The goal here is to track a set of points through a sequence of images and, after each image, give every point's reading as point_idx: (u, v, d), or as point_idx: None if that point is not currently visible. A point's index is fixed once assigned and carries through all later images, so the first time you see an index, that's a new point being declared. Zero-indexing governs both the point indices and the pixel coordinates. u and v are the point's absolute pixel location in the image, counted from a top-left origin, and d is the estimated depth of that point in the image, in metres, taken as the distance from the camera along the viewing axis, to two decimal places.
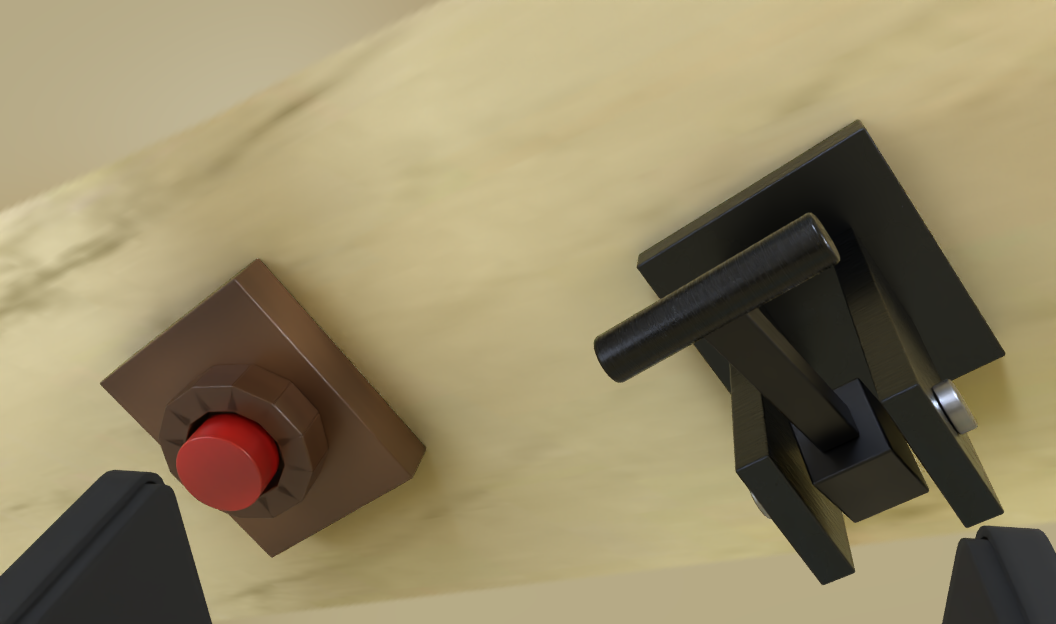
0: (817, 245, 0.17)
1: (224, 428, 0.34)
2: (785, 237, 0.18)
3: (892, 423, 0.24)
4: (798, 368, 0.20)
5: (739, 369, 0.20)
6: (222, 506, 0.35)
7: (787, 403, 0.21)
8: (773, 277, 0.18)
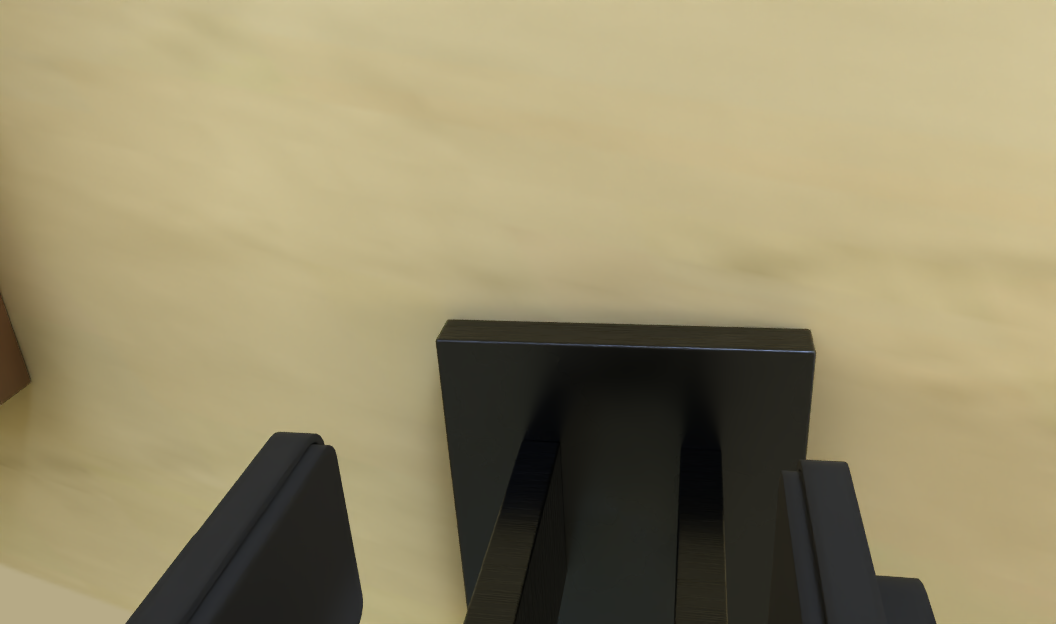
0: None
1: None
2: None
3: None
4: None
5: None
6: None
7: None
8: None
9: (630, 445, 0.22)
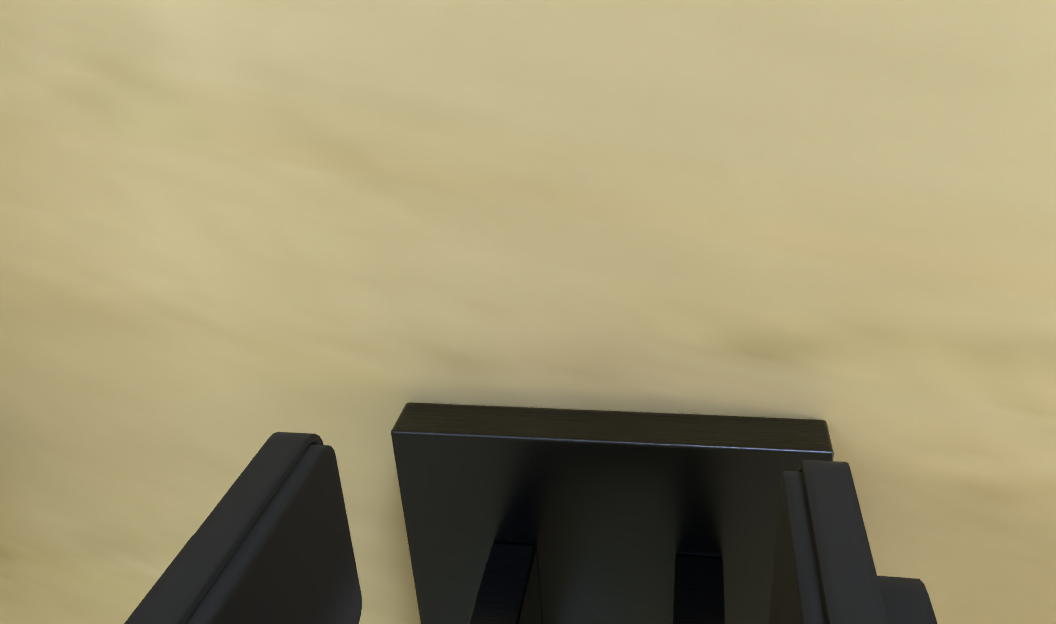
0: None
1: None
2: None
3: None
4: None
5: None
6: None
7: None
8: None
9: (617, 550, 0.19)
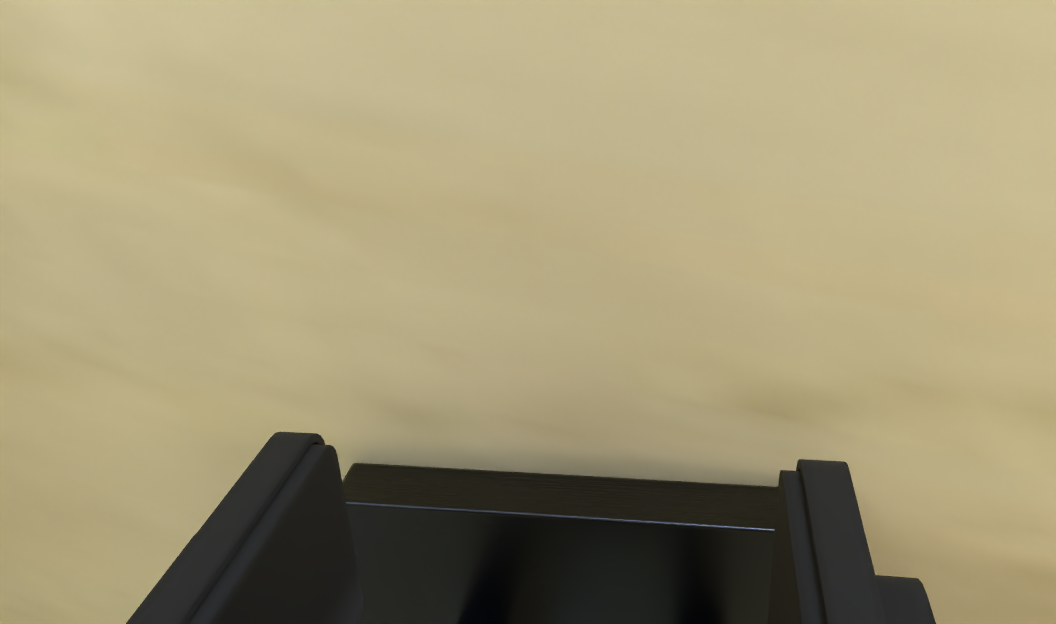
0: None
1: None
2: None
3: None
4: None
5: None
6: None
7: None
8: None
9: None
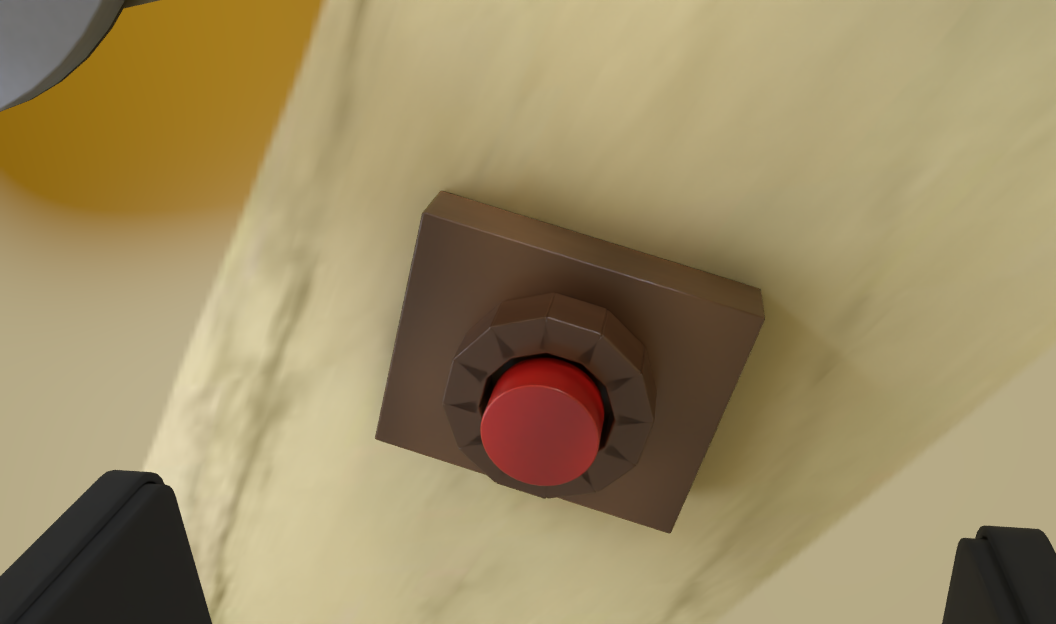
0: None
1: (512, 378, 0.26)
2: None
3: None
4: None
5: None
6: (567, 475, 0.27)
7: None
8: None
9: None
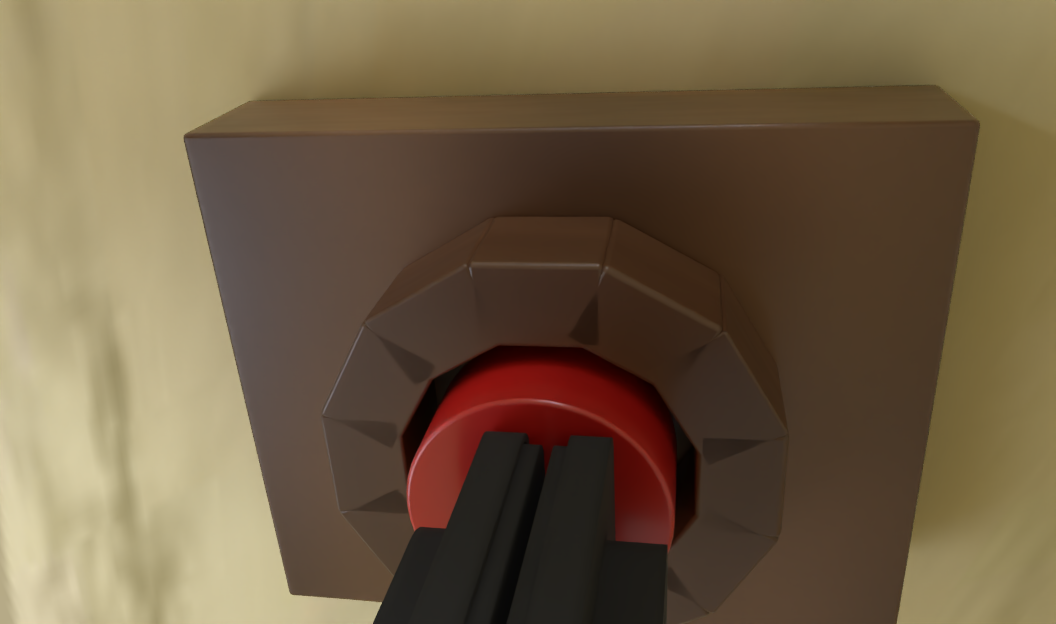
0: None
1: (446, 404, 0.12)
2: None
3: None
4: None
5: None
6: None
7: None
8: None
9: None
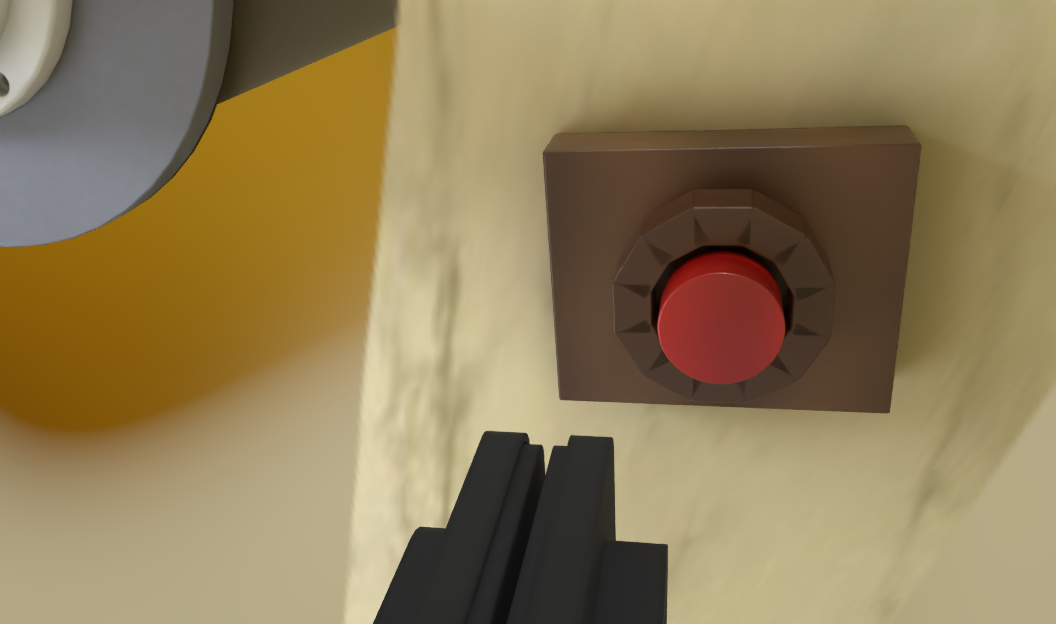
0: None
1: (676, 280, 0.26)
2: None
3: None
4: None
5: None
6: (761, 363, 0.25)
7: None
8: None
9: None
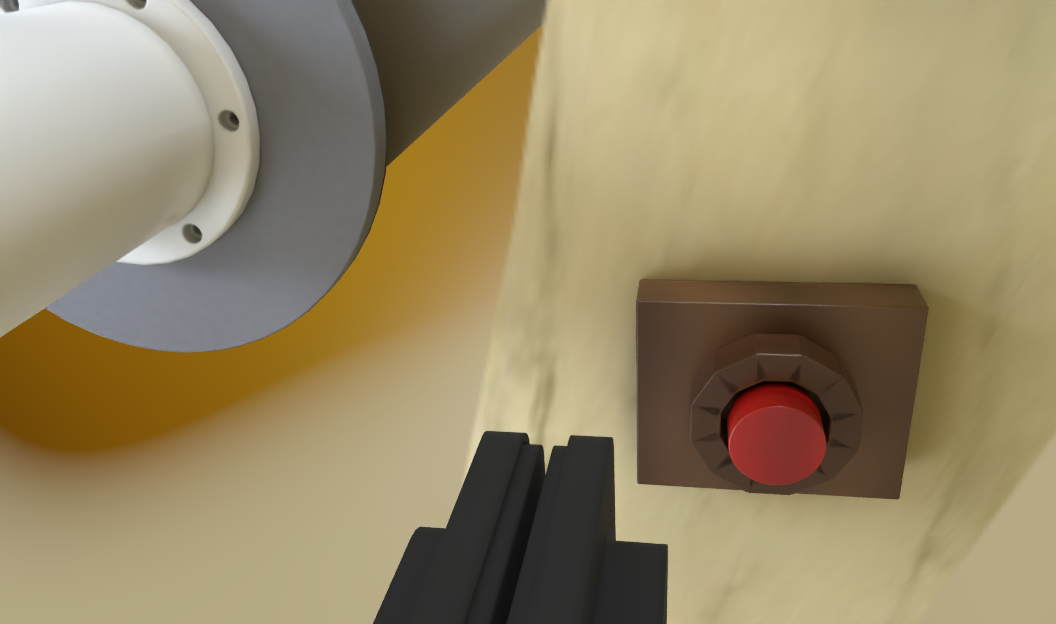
0: None
1: (743, 407, 0.34)
2: None
3: None
4: None
5: None
6: (807, 471, 0.33)
7: None
8: None
9: None
